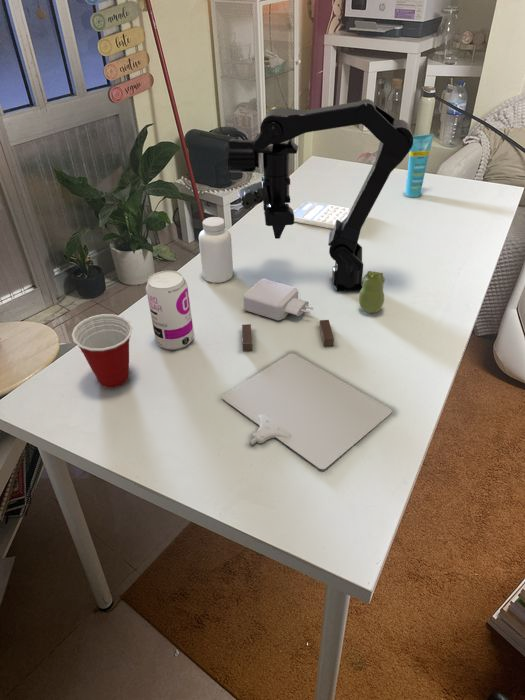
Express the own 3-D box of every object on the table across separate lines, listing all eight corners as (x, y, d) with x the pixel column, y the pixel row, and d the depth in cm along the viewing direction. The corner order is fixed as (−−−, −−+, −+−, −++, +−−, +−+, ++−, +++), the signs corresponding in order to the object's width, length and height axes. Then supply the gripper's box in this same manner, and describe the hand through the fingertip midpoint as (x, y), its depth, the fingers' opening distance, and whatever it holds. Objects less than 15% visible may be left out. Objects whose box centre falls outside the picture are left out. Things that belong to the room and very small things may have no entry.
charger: (301, 330, 116) (244, 312, 122) (320, 310, 122) (264, 293, 128) (302, 312, 113) (243, 294, 119) (321, 292, 119) (264, 276, 126)
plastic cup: (115, 404, 99) (101, 354, 91) (74, 385, 103) (58, 335, 96) (154, 372, 106) (144, 323, 99) (114, 355, 111) (102, 307, 103)
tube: (405, 199, 173) (414, 137, 161) (399, 193, 176) (407, 133, 165) (426, 196, 174) (436, 135, 162) (419, 191, 178) (429, 131, 166)
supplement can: (200, 332, 116) (192, 272, 107) (183, 354, 110) (174, 292, 101) (167, 326, 119) (157, 266, 109) (149, 347, 112) (137, 286, 103)
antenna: (204, 409, 97) (203, 405, 96) (291, 354, 110) (292, 350, 109) (305, 487, 82) (306, 482, 82) (393, 413, 95) (394, 408, 95)
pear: (355, 314, 120) (359, 276, 114) (360, 302, 124) (364, 264, 118) (380, 319, 118) (385, 280, 112) (384, 306, 122) (389, 268, 116)
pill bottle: (229, 284, 132) (225, 228, 123) (198, 282, 134) (192, 226, 125) (237, 269, 138) (233, 215, 129) (207, 267, 140) (201, 213, 131)
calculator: (349, 232, 154) (350, 226, 153) (288, 221, 162) (287, 215, 160) (365, 215, 163) (365, 209, 162) (306, 205, 171) (306, 199, 170)
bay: (328, 327, 116) (328, 319, 115) (333, 346, 111) (333, 338, 110) (242, 332, 116) (241, 324, 115) (242, 351, 110) (242, 343, 109)
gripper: (238, 160, 123) (242, 223, 133) (240, 189, 109) (244, 258, 118) (286, 158, 124) (286, 221, 133) (294, 187, 109) (294, 255, 118)
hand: (277, 238), depth 126 cm, fingers closed
